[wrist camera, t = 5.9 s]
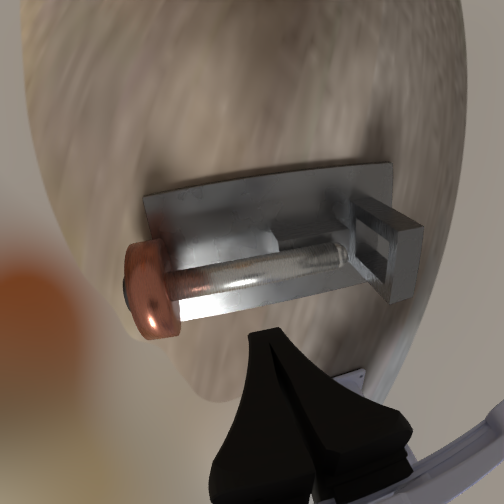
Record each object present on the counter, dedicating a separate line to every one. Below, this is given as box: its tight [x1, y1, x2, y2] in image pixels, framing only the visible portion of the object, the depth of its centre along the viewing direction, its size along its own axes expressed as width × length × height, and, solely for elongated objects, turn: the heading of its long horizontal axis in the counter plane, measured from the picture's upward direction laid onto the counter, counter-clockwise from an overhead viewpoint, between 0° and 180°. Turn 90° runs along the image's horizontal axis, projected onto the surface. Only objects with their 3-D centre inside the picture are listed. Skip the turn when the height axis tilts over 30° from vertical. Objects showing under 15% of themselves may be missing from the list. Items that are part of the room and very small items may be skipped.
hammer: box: [123, 238, 348, 340], centre depth 18 cm, size 6×14×6 cm, turn 97°
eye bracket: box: [143, 162, 424, 321], centre depth 19 cm, size 10×18×7 cm, turn 97°
